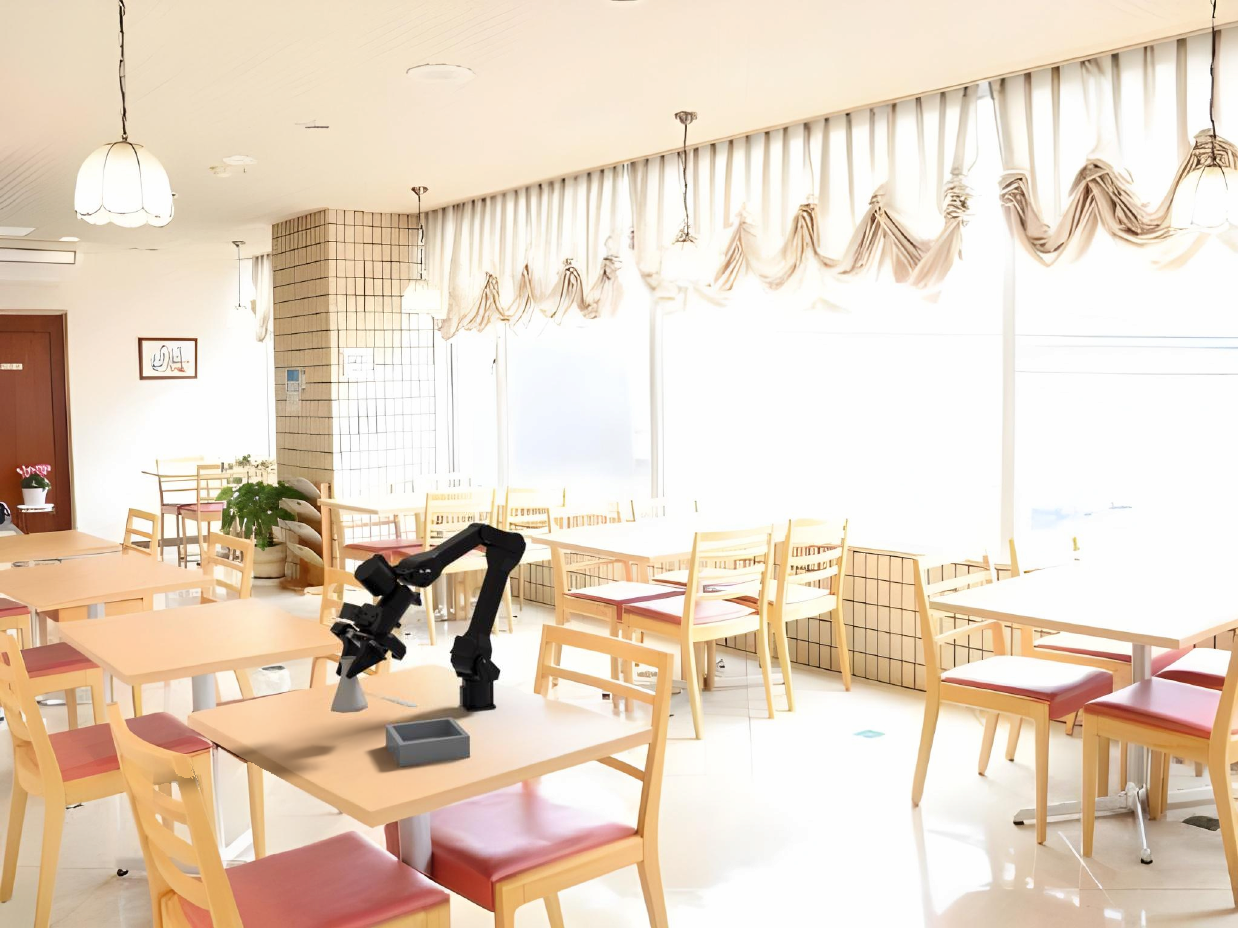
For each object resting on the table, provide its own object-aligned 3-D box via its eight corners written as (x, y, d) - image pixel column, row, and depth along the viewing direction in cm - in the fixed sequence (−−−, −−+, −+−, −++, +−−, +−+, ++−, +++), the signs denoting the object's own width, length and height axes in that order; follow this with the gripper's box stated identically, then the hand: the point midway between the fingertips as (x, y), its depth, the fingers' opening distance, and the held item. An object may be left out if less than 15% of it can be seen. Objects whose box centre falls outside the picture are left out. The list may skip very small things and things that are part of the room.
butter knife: (409, 707, 227) (419, 703, 229) (334, 688, 244) (345, 684, 246) (409, 709, 227) (420, 706, 229) (334, 690, 244) (345, 687, 246)
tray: (452, 736, 207) (452, 717, 207) (470, 756, 195) (469, 735, 195) (386, 745, 202) (385, 725, 201) (400, 766, 190) (399, 744, 189)
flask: (373, 703, 207) (372, 653, 206) (361, 714, 200) (360, 662, 199) (337, 702, 207) (336, 653, 207) (324, 713, 200) (323, 662, 200)
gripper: (337, 581, 211) (289, 645, 204) (392, 591, 199) (343, 660, 191) (371, 613, 218) (325, 676, 210) (426, 626, 205) (380, 693, 197)
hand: (342, 676), depth 202 cm, fingers closed on flask, 3 cm apart
